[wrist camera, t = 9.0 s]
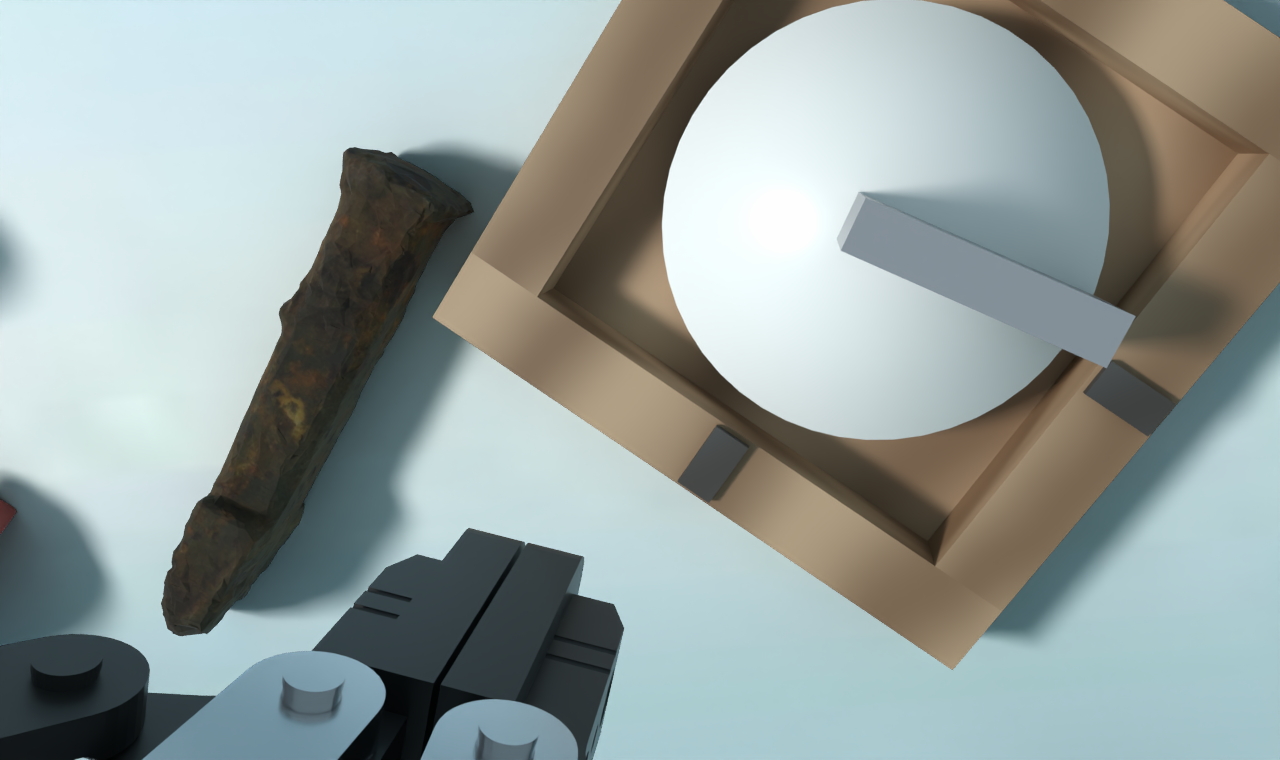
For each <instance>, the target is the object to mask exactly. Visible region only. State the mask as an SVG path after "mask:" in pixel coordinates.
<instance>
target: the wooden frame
mask: <svg viewBox="0 0 1280 760" xmlns="http://www.w3.org/2000/svg"><path fill="white" fill-rule="evenodd" d="M860 1H870V0H622V1H621V2H620V4H619V6H618V7H617V9H616V11H615V12H614V14H613V16H612V17H611V19H610V21H609V22H608V24H607V26H606V27H605V29H604V31H603V32H602V34H601V36H600V37H599V39H598V41H597V42H596V44H595V46H594V47H593V49H592V51H591V52H590V54H589V56H588V57H587V59H586V61H585V62H584V64H583V66H582V67H581V69H580V71H579V72H578V74H577V76H576V78H575V79H574V81H573V83H572V84H571V86H570V88H569V89H568V91H567V93H566V94H565V96H564V98H563V99H562V101H561V103H560V104H559V106H558V108H557V109H556V111H555V113H554V114H553V116H552V118H551V119H550V121H549V123H548V124H547V126H546V128H545V129H544V131H543V133H542V134H541V136H540V138H539V139H538V141H537V143H536V144H535V146H534V148H533V149H532V151H531V153H530V154H529V156H528V158H527V159H526V161H525V163H524V165H523V166H522V168H521V170H520V171H519V173H518V175H517V176H516V178H515V180H514V181H513V183H512V185H511V186H510V188H509V190H508V191H507V193H506V195H505V196H504V198H503V200H502V201H501V203H500V205H499V206H498V208H497V210H496V211H495V213H494V215H493V216H492V218H491V220H490V221H489V223H488V225H487V226H486V228H485V230H484V231H483V233H482V235H481V236H480V238H479V240H478V241H477V243H476V245H475V247H474V248H473V250H472V252H471V253H470V255H469V257H468V258H467V260H466V262H465V263H464V265H463V267H462V268H461V270H460V272H459V273H458V275H457V277H456V278H455V280H454V282H453V283H452V285H451V287H450V288H449V290H448V292H447V293H446V295H445V297H444V298H443V300H442V302H441V303H440V305H439V307H438V308H437V310H436V312H435V313H434V315H433V317H432V318H434V319H435V320H437V321H438V322H440V323H441V324H443V325H444V326H446V327H447V328H449V329H450V330H451V331H453V332H454V333H456V334H457V335H459V336H460V337H462V338H463V339H465V340H466V341H468V342H469V343H471V344H472V345H474V346H475V347H477V348H478V349H480V350H481V351H482V352H484V353H485V354H487V355H488V356H490V357H491V358H493V359H494V360H496V361H497V362H499V363H500V364H502V365H503V366H505V367H506V368H508V369H509V370H510V371H512V372H513V373H515V374H516V375H518V376H519V377H521V378H522V379H524V380H525V381H527V382H528V383H530V384H531V385H533V386H534V387H536V388H537V389H539V390H540V391H541V392H543V393H544V394H546V395H547V396H549V397H550V398H552V399H553V400H555V401H556V402H558V403H559V404H561V405H562V406H564V407H565V408H567V409H568V410H570V411H571V412H572V413H574V414H575V415H577V416H578V417H580V418H581V419H583V420H584V421H586V422H587V423H589V424H590V425H592V426H593V427H595V428H596V429H598V430H599V431H600V432H602V433H603V434H605V435H606V436H608V437H609V438H611V439H612V440H614V441H615V442H617V443H618V444H620V445H621V446H623V447H624V448H626V449H627V450H629V451H630V452H631V453H633V454H634V455H636V456H637V457H639V458H640V459H642V460H643V461H645V462H646V463H648V464H649V465H651V466H652V467H654V468H655V469H657V470H658V471H659V472H661V473H662V474H664V475H665V476H667V477H668V478H670V479H671V480H673V481H674V482H676V483H677V484H679V485H680V486H682V487H683V488H685V489H686V490H688V491H689V492H690V493H692V494H693V495H695V496H696V497H698V498H699V499H701V500H702V501H704V502H705V503H707V504H708V505H710V506H711V507H713V508H714V509H716V510H717V511H718V512H720V513H721V514H723V515H724V516H726V517H727V518H729V519H730V520H732V521H733V522H735V523H736V524H738V525H739V526H741V527H742V528H744V529H745V530H747V531H748V532H749V533H751V534H752V535H754V536H755V537H757V538H758V539H760V540H761V541H763V542H764V543H766V544H767V545H769V546H770V547H772V548H773V549H775V550H776V551H777V552H779V553H780V554H782V555H783V556H785V557H786V558H788V559H789V560H791V561H792V562H794V563H795V564H797V565H798V566H800V567H801V568H803V569H804V570H806V571H807V572H808V573H810V574H811V575H813V576H814V577H816V578H817V579H819V580H820V581H822V582H823V583H825V584H826V585H828V586H829V587H831V588H832V589H834V590H835V591H837V592H838V593H839V594H841V595H842V596H844V597H845V598H847V599H848V600H850V601H851V602H853V603H854V604H856V605H857V606H859V607H860V608H862V609H863V610H865V611H866V612H867V613H869V614H870V615H872V616H873V617H875V618H876V619H878V620H879V621H881V622H882V623H884V624H885V625H887V626H888V627H890V628H891V629H893V630H894V631H896V632H897V633H898V634H900V635H901V636H903V637H904V638H906V639H907V640H909V641H910V642H912V643H913V644H915V645H916V646H918V647H919V648H921V649H922V650H924V651H925V652H926V653H928V654H929V655H931V656H932V657H934V658H935V659H937V660H938V661H940V662H941V663H943V664H944V665H946V666H947V667H949V668H950V669H952V670H953V669H954V668H955V667H956V665H957V664H958V663H959V662H960V661H961V659H962V658H963V657H964V656H965V655H966V654H967V652H968V651H969V650H970V649H971V648H972V646H973V645H974V644H975V643H976V642H977V641H978V639H979V638H980V637H981V636H982V635H983V633H984V632H985V631H986V630H987V629H988V627H989V626H990V625H991V624H992V623H993V622H994V620H995V619H996V618H997V617H998V616H999V614H1000V613H1001V612H1002V611H1003V610H1004V609H1005V607H1006V606H1007V605H1008V604H1009V603H1010V601H1011V600H1012V599H1013V598H1014V597H1015V596H1016V594H1017V593H1018V592H1019V591H1020V590H1021V588H1022V587H1023V586H1024V585H1025V584H1026V582H1027V581H1028V580H1029V579H1030V578H1031V577H1032V575H1033V574H1034V573H1035V572H1036V571H1037V569H1038V568H1039V567H1040V566H1041V565H1042V564H1043V562H1044V561H1045V560H1046V559H1047V558H1048V556H1049V555H1050V554H1051V553H1052V552H1053V550H1054V549H1055V548H1056V547H1057V546H1058V545H1059V543H1060V542H1061V541H1062V540H1063V539H1064V537H1065V536H1066V535H1067V534H1068V533H1069V532H1070V530H1071V529H1072V528H1073V527H1074V526H1075V524H1076V523H1077V522H1078V521H1079V520H1080V518H1081V517H1082V516H1083V515H1084V514H1085V513H1086V511H1087V510H1088V509H1089V508H1090V507H1091V505H1092V504H1093V503H1094V502H1095V501H1096V500H1097V498H1098V497H1099V496H1100V495H1101V494H1102V492H1103V491H1104V490H1105V489H1106V488H1107V487H1108V485H1109V484H1110V483H1111V482H1112V481H1113V479H1114V478H1115V477H1116V476H1117V475H1118V473H1119V472H1120V471H1121V470H1122V469H1123V468H1124V466H1125V465H1126V464H1127V463H1128V462H1129V460H1130V459H1131V458H1132V457H1133V456H1134V455H1135V453H1136V452H1137V451H1138V450H1139V449H1140V447H1141V446H1142V445H1143V444H1144V443H1145V441H1146V440H1147V439H1148V438H1149V437H1150V436H1151V434H1152V433H1153V432H1154V431H1155V430H1156V428H1157V427H1158V426H1159V425H1160V424H1161V423H1162V421H1163V420H1164V419H1165V418H1166V417H1167V415H1168V414H1169V413H1170V412H1171V411H1172V409H1173V408H1174V407H1175V406H1176V405H1177V404H1178V402H1179V401H1180V400H1181V399H1182V398H1183V396H1184V395H1185V394H1186V393H1187V392H1188V391H1189V389H1190V388H1191V387H1192V386H1193V385H1194V383H1195V382H1196V381H1197V380H1198V379H1199V378H1200V376H1201V375H1202V374H1203V373H1204V372H1205V370H1206V369H1207V368H1208V367H1209V366H1210V364H1211V363H1212V362H1213V361H1214V360H1215V359H1216V357H1217V356H1218V355H1219V354H1220V353H1221V351H1222V350H1223V349H1224V348H1225V347H1226V346H1227V344H1228V343H1229V342H1230V341H1231V340H1232V338H1233V337H1234V336H1235V335H1236V334H1237V332H1238V331H1239V330H1240V329H1241V328H1242V327H1243V325H1244V324H1245V323H1246V322H1247V321H1248V319H1249V318H1250V317H1251V316H1252V315H1253V314H1254V312H1255V311H1256V310H1257V309H1258V308H1259V306H1260V305H1261V304H1262V303H1263V302H1264V300H1265V299H1266V298H1267V297H1268V296H1269V295H1270V293H1271V292H1272V291H1273V290H1274V289H1275V287H1276V286H1277V285H1278V284H1279V283H1280V38H1279V37H1278V36H1276V35H1275V34H1273V33H1272V32H1270V31H1269V30H1267V29H1266V28H1264V27H1263V26H1261V25H1260V24H1258V23H1257V22H1255V21H1254V20H1252V19H1251V18H1249V17H1248V16H1246V15H1245V14H1243V13H1242V12H1240V11H1239V10H1237V9H1236V8H1234V7H1233V6H1231V5H1230V4H1228V3H1227V2H1225V1H1224V0H922V1H927V2H932V3H938V4H943V5H948V6H953V7H956V8H958V9H961V10H964V11H967V12H970V13H973V14H976V15H979V16H981V17H983V18H985V19H987V20H989V21H991V22H993V23H995V24H997V25H999V26H1001V27H1003V28H1005V29H1007V30H1009V31H1010V32H1011V33H1013V34H1014V35H1016V36H1017V37H1019V38H1020V39H1021V40H1023V41H1024V42H1026V43H1027V44H1028V45H1030V46H1031V47H1033V48H1034V49H1035V50H1036V51H1037V52H1038V53H1039V54H1040V55H1041V56H1042V57H1043V58H1044V59H1045V60H1046V61H1047V62H1049V63H1050V64H1051V65H1052V66H1053V67H1054V68H1055V69H1056V71H1057V72H1058V73H1059V74H1060V76H1061V77H1062V78H1063V79H1064V81H1065V82H1066V83H1067V84H1068V86H1069V87H1070V88H1071V90H1072V91H1073V92H1074V94H1075V96H1076V97H1077V99H1078V101H1079V102H1080V104H1081V106H1082V108H1083V109H1084V111H1085V113H1086V115H1087V116H1088V118H1089V121H1090V123H1091V126H1092V128H1093V130H1094V133H1095V135H1096V138H1097V140H1098V143H1099V145H1100V149H1101V153H1102V157H1103V161H1104V166H1105V170H1106V174H1107V182H1108V192H1109V202H1110V211H1109V235H1108V241H1107V247H1106V252H1105V258H1104V264H1103V267H1102V270H1101V273H1100V276H1099V279H1098V283H1097V286H1096V289H1095V292H1094V294H1093V295H1095V296H1097V297H1099V298H1101V299H1103V300H1104V301H1106V302H1108V303H1110V304H1112V305H1114V306H1116V307H1118V308H1120V309H1122V310H1124V311H1126V312H1128V313H1130V314H1132V315H1134V316H1136V317H1135V319H1134V320H1133V322H1132V324H1131V326H1130V328H1129V329H1128V331H1127V333H1126V335H1125V336H1124V338H1123V340H1122V342H1121V344H1120V345H1119V347H1118V349H1117V351H1116V352H1115V354H1114V356H1113V358H1112V359H1111V361H1110V363H1109V365H1108V367H1107V368H1105V367H1102V366H1100V365H1098V364H1095V363H1093V362H1091V361H1089V360H1086V359H1084V358H1082V357H1080V356H1077V355H1075V354H1073V353H1071V352H1068V351H1066V350H1064V349H1061V351H1060V352H1059V353H1058V354H1057V355H1056V357H1055V358H1054V359H1053V360H1052V361H1051V363H1050V364H1049V365H1048V366H1047V367H1046V368H1045V369H1044V370H1043V371H1042V372H1041V373H1040V374H1039V375H1038V376H1037V377H1035V378H1034V379H1033V380H1032V381H1031V382H1030V383H1029V384H1028V385H1027V386H1026V387H1024V388H1023V389H1022V390H1020V391H1019V392H1018V393H1016V394H1015V395H1013V396H1012V397H1011V398H1009V399H1008V400H1007V401H1005V402H1004V403H1002V404H1001V405H999V406H997V407H995V408H993V409H992V410H990V411H988V412H986V413H984V414H983V415H981V416H979V417H977V418H975V419H972V420H970V421H967V422H965V423H962V424H960V425H957V426H955V427H952V428H950V429H946V430H942V431H938V432H934V433H931V434H927V435H923V436H916V437H909V438H902V439H894V440H863V439H854V438H845V437H838V436H833V435H829V434H825V433H821V432H817V431H813V430H810V429H807V428H804V427H802V426H799V425H797V424H794V423H791V422H789V421H786V420H784V419H782V418H780V417H778V416H777V415H775V414H773V413H771V412H769V411H767V410H765V409H763V408H762V407H760V406H759V405H757V404H756V403H755V402H753V401H752V400H750V399H749V398H748V397H746V396H745V395H743V394H742V393H741V392H739V391H738V390H737V389H736V388H735V387H734V386H733V385H732V384H731V383H730V382H728V381H727V380H726V379H725V378H724V377H723V376H722V375H721V374H720V373H719V372H718V371H717V370H716V368H715V367H714V366H713V365H712V364H711V362H710V361H709V360H708V359H707V358H706V356H705V355H704V354H703V353H702V351H701V350H700V348H699V347H698V345H697V343H696V342H695V340H694V339H693V337H692V336H691V334H690V332H689V331H688V329H687V327H686V325H685V323H684V320H683V318H682V316H681V314H680V312H679V310H678V308H677V305H676V302H675V299H674V296H673V293H672V290H671V287H670V284H669V280H668V276H667V270H666V265H665V259H664V253H663V236H662V217H663V204H664V195H665V190H666V185H667V180H668V176H669V171H670V167H671V164H672V161H673V158H674V156H675V153H676V150H677V147H678V144H679V141H680V139H681V137H682V135H683V133H684V131H685V129H686V127H687V125H688V123H689V121H690V119H691V117H692V115H693V114H694V112H695V111H696V109H697V108H698V106H699V105H700V103H701V102H702V100H703V99H704V97H705V96H706V94H707V93H708V91H709V90H710V89H711V88H712V87H713V85H714V84H715V83H716V82H717V81H718V80H719V79H720V77H721V76H722V75H723V74H724V73H725V72H726V71H727V69H728V68H729V67H731V66H732V65H733V64H734V63H735V62H736V61H737V60H738V59H740V58H741V57H742V56H743V55H744V54H745V53H746V52H747V51H749V50H750V49H751V48H752V47H754V46H755V45H757V44H758V43H760V42H761V41H762V40H764V39H765V38H767V37H768V36H770V35H771V34H773V33H774V32H776V31H778V30H780V29H782V28H784V27H785V26H787V25H789V24H791V23H793V22H795V21H797V20H799V19H801V18H803V17H806V16H809V15H812V14H815V13H817V12H820V11H823V10H826V9H829V8H832V7H836V6H841V5H846V4H850V3H855V2H860Z"/></svg>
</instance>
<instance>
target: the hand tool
mask: <svg viewBox="0 0 1280 760" xmlns="http://www.w3.org/2000/svg"><path fill="white" fill-rule="evenodd" d="M340 189H341V197H340V202H339V206H338V209H337V212H336V214H335V216H334V219H333V221H332V223H331V225H330V227H329V230H328V232H327V234H326V236H325V238H324V240H323V241H322V244H321V247H320V250H319V252H318V254H317V257H316V259H315V261H314V264H313V266H312V268H311V270H310V271H309V272H308V274H307V275H306V277H305V278H304V279H303V280H302V281H301V283H300V287H299V289H298V291H297V292H296V293H295V294H294V296H293V297H292V299H290V300H288V301H287V302H285V303H284V304H283V306H282V307H281V308H280V311H279V316H280V320H281V324H282V333H281V336H280V338H279V340H278V342H277V345H276V347H275V349H274V352H273V354H272V356H271V359H270V361H269V363H268V366H267V368H266V370H265V372H264V374H263V376H262V378H261V380H260V382H259V384H258V387H257V389H256V391H255V394H254V396H253V399H252V401H251V404H250V406H249V408H248V410H247V412H246V414H245V416H244V419H243V421H242V423H241V425H240V428H239V430H238V433H237V435H236V438H235V440H234V442H233V445H232V447H231V450H230V452H229V454H228V457H227V459H226V461H225V463H224V466H223V468H222V470H221V472H220V474H219V476H218V478H217V479H216V481H215V483H214V485H213V488H212V490H211V492H210V493H209V495H208V496H206V497H204V498H203V499H201V500H200V501H198V502H197V504H196V506H195V507H194V509H193V510H192V513H191V516H190V519H189V520H188V522H187V523H186V525H185V530H184V536H183V539H182V540H181V542H180V544H179V545H178V546H177V548H176V549H175V550H174V552H173V557H172V568H171V569H170V570H169V571H168V572H167V576H166V579H165V582H164V584H165V586H164V593H163V595H164V596H163V599H162V602H161V605H162V609H163V615H164V617H165V621H166V625H167V628H168V629H169V630H170V631H172V632H173V634H176V635H178V636H184V635H185V636H186V635H194V634H202V633H206V634H207V633H209V632H210V631H211V630H212V629H213V628H214V627H215V626H216V625H217V624H218V623H219V622H220V621H221V620H222V618H223V617H224V615H225V613H226V612H227V611H228V610H229V609H230V607H231V606H232V605H233V604H234V603H235V602H236V601H238V600H240V599H242V598H243V597H245V596H246V595H247V593H248V591H249V590H250V588H251V585H252V584H253V583H254V582H255V580H256V579H257V577H258V576H259V575H260V573H262V572H263V571H265V570H266V569H267V567H268V566H269V564H270V563H271V561H272V560H273V558H274V556H275V555H276V553H277V551H278V550H279V548H280V547H281V546H282V545H283V544H284V543H285V542H286V540H287V539H288V538H289V536H290V535H291V533H292V532H293V530H294V529H295V528H296V526H297V525H298V524H299V522H300V520H301V517H302V514H303V510H304V503H303V501H304V499H305V498H306V496H307V494H308V492H309V490H310V488H311V486H312V485H313V483H314V481H315V479H316V477H317V475H318V474H319V472H320V470H321V468H322V466H323V465H324V463H325V461H326V460H327V458H328V456H329V454H330V452H331V450H332V448H333V446H334V444H335V442H336V440H337V438H338V436H339V435H340V433H341V431H342V429H343V428H344V426H345V424H346V423H347V421H348V419H349V418H350V416H351V414H352V412H353V410H354V408H355V406H356V403H357V401H358V398H359V396H360V393H361V391H362V389H363V387H364V385H365V383H366V382H367V380H368V378H369V376H370V374H371V372H372V370H373V368H374V365H375V364H376V363H377V361H378V360H379V359H380V357H381V356H382V355H383V352H384V349H385V348H386V346H387V344H388V343H389V341H390V340H391V338H392V337H393V335H394V333H395V331H396V330H397V328H398V326H399V324H400V322H401V321H402V319H403V317H404V314H405V310H406V307H407V304H408V302H409V301H410V299H411V297H412V295H413V294H414V291H415V287H416V283H417V281H418V280H419V278H420V276H421V274H422V272H423V270H424V269H425V266H426V264H427V262H428V260H429V258H430V256H431V254H432V252H433V251H434V249H435V247H436V246H437V244H438V242H439V240H440V238H441V236H442V235H443V233H444V231H445V230H446V229H447V228H448V227H449V226H450V225H451V224H452V223H453V222H454V221H455V220H456V218H459V217H462V216H465V215H467V214H470V213H473V212H474V211H473V208H472V206H471V203H470V202H469V201H467V200H466V199H465V198H464V197H463V196H462V195H461V194H460V193H458V192H457V191H455V190H454V189H452V188H450V187H449V186H447V185H446V184H444V183H443V182H442V181H440V180H439V179H437V178H436V177H434V176H433V175H431V174H429V173H428V172H426V171H424V170H423V169H421V168H419V167H417V166H415V165H413V164H411V163H410V162H406V161H404V160H402V159H400V158H398V157H397V156H396V155H395V154H393V153H392V152H389V153H384V152H381V151H379V150H368V149H359V148H356V147H354V148H349V149H347V150H346V151H345V152H344V153H343V170H342V175H341V180H340Z"/></svg>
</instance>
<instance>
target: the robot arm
mask: <svg viewBox="0 0 1280 760" xmlns="http://www.w3.org/2000/svg"><path fill="white" fill-rule="evenodd" d="M583 565H584V557H583V556H579V555H575V554H571V553H567V552H563V551H559V550H555V549H551V548H547V547H543V546H539V545H535V544H531V543H528V544H527V545H526V546H525V542H522V541H518V540H514V539H510V538H506V537H502V536H498V535H494V534H490V533H487V532H483V531H479V530H475V529H471V528H468V529H467V530H466V531H465V532H464V533H463V535H462V536H461V537H460V539H459V540H458V541H457V542H456V544H455V545H454V546H453V548H452V549H451V550H450V551H449V553H448V554H447V555H446V557H445V558H444V559H443V560H442V561H441V560H437V559H433V558H429V557H425V556H421V555H415V556H413V557H410V558H408V559H405V560H403V561H401V562H398V563H396V564H393V565H391V566H389V567H386V568H385V569H384V571H383V572H382V573H381V574H380V575H379V576H378V577H377V578H376V580H375V581H374V582H373V583H372V584H371V585H370V586H369V588H368V591H365V592H364V593H363V594H362V595H361V596H360V597H359V598H358V600H357V601H356V602H355V603H354V606H353V608H351V607H350V609H349V610H348V611H347V612H346V613H345V614H344V615H343V616H342V617H341V619H340V620H339V621H338V622H337V623H336V624H335V625H334V626H333V628H332V629H331V630H330V631H329V632H328V633H327V634H326V635H325V636H324V638H323V639H322V640H321V641H320V642H319V643H318V644H317V645H316V646H315V648H314V649H313V650H312V651H298V652H290V653H284V654H280V655H275V656H272V657H269V658H267V659H264V660H262V661H260V662H258V663H256V664H254V665H253V666H252V667H250V668H249V669H247V670H246V671H245V672H244V673H243V674H242V675H240V676H239V677H238V678H237V679H236V680H235V681H233V682H232V683H231V684H230V685H229V686H228V687H226V688H225V689H224V690H223V691H222V692H221V693H219V694H218V695H217V696H198V695H180V694H162V693H148V683H149V673H150V669H149V664H148V662H147V660H146V658H145V657H144V656H143V655H142V654H141V653H140V652H139V651H138V650H137V649H135V648H134V647H132V646H130V645H128V644H126V643H124V642H122V641H118V640H115V639H112V638H107V637H102V636H96V635H85V634H69V635H56V636H49V637H43V638H38V639H33V640H28V641H22V642H17V643H12V644H7V645H2V646H0V760H593V756H594V753H595V750H596V746H597V743H598V740H599V736H600V733H601V728H602V724H603V719H604V715H605V711H606V706H607V702H608V697H609V693H610V688H611V684H612V680H613V675H614V671H615V666H616V662H617V657H618V653H619V649H620V644H621V640H622V635H623V631H624V627H623V624H622V622H621V620H620V617H619V615H618V613H617V610H616V608H615V606H614V604H610V603H607V602H603V601H599V600H595V599H591V598H587V597H583V596H579V595H578V591H579V586H580V582H581V577H582V571H583Z"/></svg>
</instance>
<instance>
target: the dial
mask: <svg viewBox="0 0 1280 760" xmlns="http://www.w3.org/2000/svg"><path fill="white" fill-rule="evenodd" d="M1109 211H1110V202H1109V192H1108V182H1107V174H1106V170H1105V166H1104V161H1103V157H1102V153H1101V149H1100V145H1099V143H1098V140H1097V138H1096V135H1095V133H1094V130H1093V128H1092V126H1091V123H1090V121H1089V118H1088V116H1087V115H1086V113H1085V111H1084V109H1083V108H1082V106H1081V104H1080V102H1079V101H1078V99H1077V97H1076V96H1075V94H1074V92H1073V91H1072V90H1071V88H1070V87H1069V86H1068V84H1067V83H1066V82H1065V81H1064V79H1063V78H1062V77H1061V76H1060V74H1059V73H1058V72H1057V71H1056V69H1055V68H1054V67H1053V66H1052V65H1051V64H1050V63H1049V62H1047V61H1046V60H1045V59H1044V58H1043V57H1042V56H1041V55H1040V54H1039V53H1038V52H1037V51H1036V50H1035V49H1034V48H1033V47H1031V46H1030V45H1028V44H1027V43H1026V42H1024V41H1023V40H1021V39H1020V38H1019V37H1017V36H1016V35H1014V34H1013V33H1011V32H1010V31H1009V30H1007V29H1005V28H1003V27H1001V26H999V25H997V24H995V23H993V22H991V21H989V20H987V19H985V18H983V17H981V16H979V15H976V14H973V13H970V12H967V11H964V10H961V9H958V8H956V7H953V6H948V5H943V4H938V3H932V2H927V1H922V0H870V1H860V2H855V3H850V4H846V5H841V6H836V7H832V8H829V9H826V10H823V11H820V12H817V13H815V14H812V15H809V16H806V17H803V18H801V19H799V20H797V21H795V22H793V23H791V24H789V25H787V26H785V27H784V28H782V29H780V30H778V31H776V32H774V33H773V34H771V35H770V36H768V37H767V38H765V39H764V40H762V41H761V42H760V43H758V44H757V45H755V46H754V47H752V48H751V49H750V50H749V51H747V52H746V53H745V54H744V55H743V56H742V57H741V58H740V59H738V60H737V61H736V62H735V63H734V64H733V65H732V66H731V67H729V68H728V69H727V71H726V72H725V73H724V74H723V75H722V76H721V77H720V79H719V80H718V81H717V82H716V83H715V84H714V85H713V87H712V88H711V89H710V90H709V91H708V93H707V94H706V96H705V97H704V99H703V100H702V102H701V103H700V105H699V106H698V108H697V109H696V111H695V112H694V114H693V115H692V117H691V119H690V121H689V123H688V125H687V127H686V129H685V131H684V133H683V135H682V137H681V139H680V141H679V144H678V147H677V150H676V153H675V156H674V158H673V161H672V164H671V167H670V171H669V176H668V180H667V185H666V190H665V195H664V204H663V217H662V236H663V253H664V259H665V265H666V270H667V276H668V280H669V284H670V287H671V290H672V293H673V296H674V299H675V302H676V305H677V308H678V310H679V312H680V314H681V316H682V318H683V320H684V323H685V325H686V327H687V329H688V331H689V332H690V334H691V336H692V337H693V339H694V340H695V342H696V343H697V345H698V347H699V348H700V350H701V351H702V353H703V354H704V355H705V356H706V358H707V359H708V360H709V361H710V362H711V364H712V365H713V366H714V367H715V368H716V370H717V371H718V372H719V373H720V374H721V375H722V376H723V377H724V378H725V379H726V380H727V381H728V382H730V383H731V384H732V385H733V386H734V387H735V388H736V389H737V390H738V391H739V392H741V393H742V394H743V395H745V396H746V397H748V398H749V399H750V400H752V401H753V402H755V403H756V404H757V405H759V406H760V407H762V408H763V409H765V410H767V411H769V412H771V413H773V414H775V415H777V416H778V417H780V418H782V419H784V420H786V421H789V422H791V423H794V424H797V425H799V426H802V427H804V428H807V429H810V430H813V431H817V432H821V433H825V434H829V435H833V436H838V437H845V438H854V439H863V440H894V439H902V438H909V437H916V436H923V435H927V434H931V433H934V432H938V431H942V430H946V429H950V428H952V427H955V426H957V425H960V424H962V423H965V422H967V421H970V420H972V419H975V418H977V417H979V416H981V415H983V414H984V413H986V412H988V411H990V410H992V409H993V408H995V407H997V406H999V405H1001V404H1002V403H1004V402H1005V401H1007V400H1008V399H1009V398H1011V397H1012V396H1013V395H1015V394H1016V393H1018V392H1019V391H1020V390H1022V389H1023V388H1024V387H1026V386H1027V385H1028V384H1029V383H1030V382H1031V381H1032V380H1033V379H1034V378H1035V377H1037V376H1038V375H1039V374H1040V373H1041V372H1042V371H1043V370H1044V369H1045V368H1046V367H1047V366H1048V365H1049V364H1050V363H1051V361H1052V360H1053V359H1054V358H1055V357H1056V355H1057V354H1058V353H1059V352H1060V351H1061V349H1064V350H1066V351H1068V352H1071V353H1073V354H1075V355H1077V356H1080V357H1082V358H1084V359H1086V360H1089V361H1091V362H1093V363H1095V364H1098V365H1100V366H1102V367H1105V368H1107V367H1108V365H1109V363H1110V361H1111V359H1112V358H1113V356H1114V354H1115V352H1116V351H1117V349H1118V347H1119V345H1120V344H1121V342H1122V340H1123V338H1124V336H1125V335H1126V333H1127V331H1128V329H1129V328H1130V326H1131V324H1132V322H1133V320H1134V319H1135V317H1136V316H1134V315H1132V314H1130V313H1128V312H1126V311H1124V310H1122V309H1120V308H1118V307H1116V306H1114V305H1112V304H1110V303H1108V302H1106V301H1104V300H1103V299H1101V298H1099V297H1097V296H1095V295H1093V294H1094V292H1095V289H1096V286H1097V283H1098V279H1099V276H1100V273H1101V270H1102V267H1103V264H1104V258H1105V252H1106V247H1107V241H1108V235H1109Z"/></svg>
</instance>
